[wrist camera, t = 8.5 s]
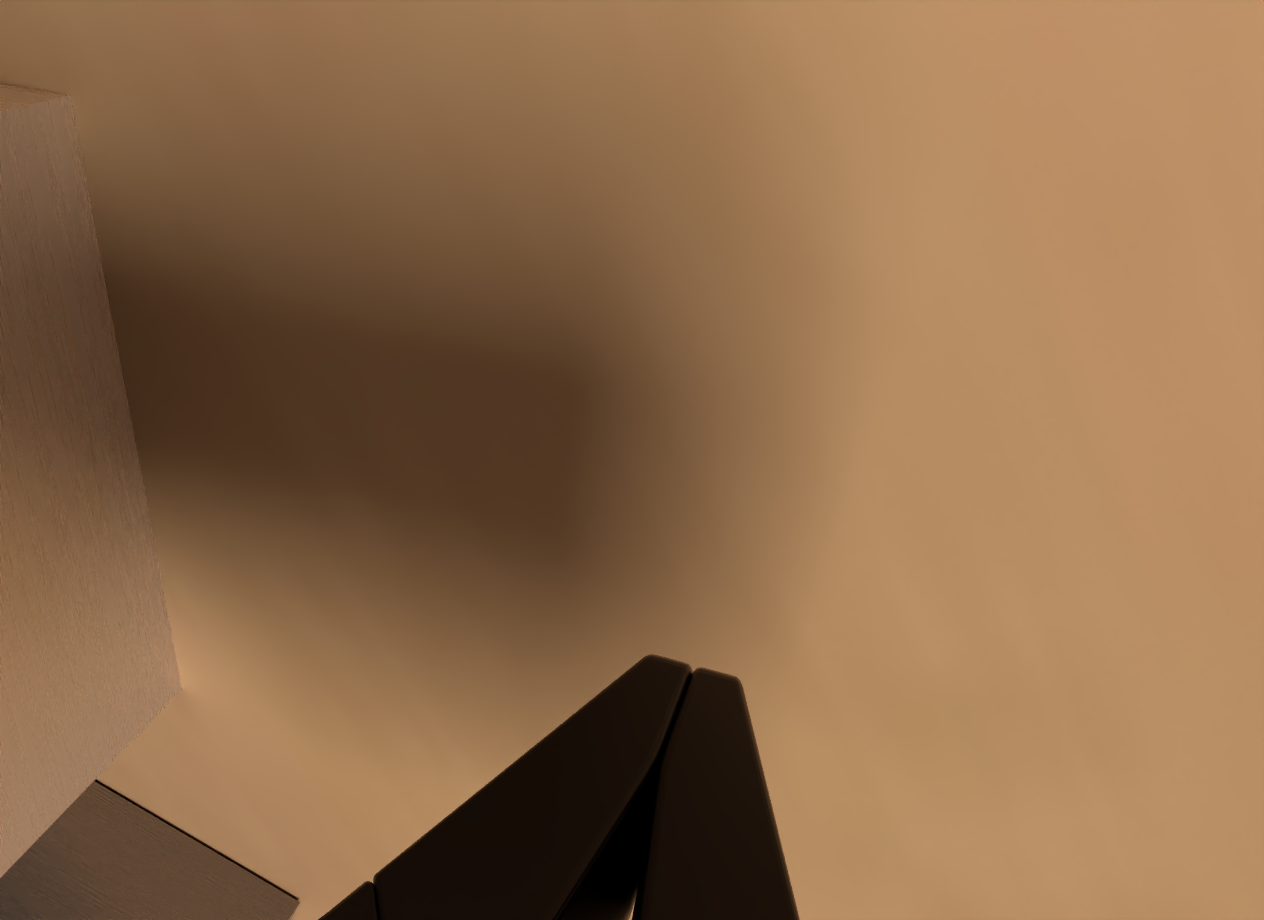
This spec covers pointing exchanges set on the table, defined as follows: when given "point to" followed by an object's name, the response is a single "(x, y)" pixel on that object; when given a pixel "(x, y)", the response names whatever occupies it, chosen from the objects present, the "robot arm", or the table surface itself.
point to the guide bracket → (130, 871)
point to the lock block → (65, 493)
